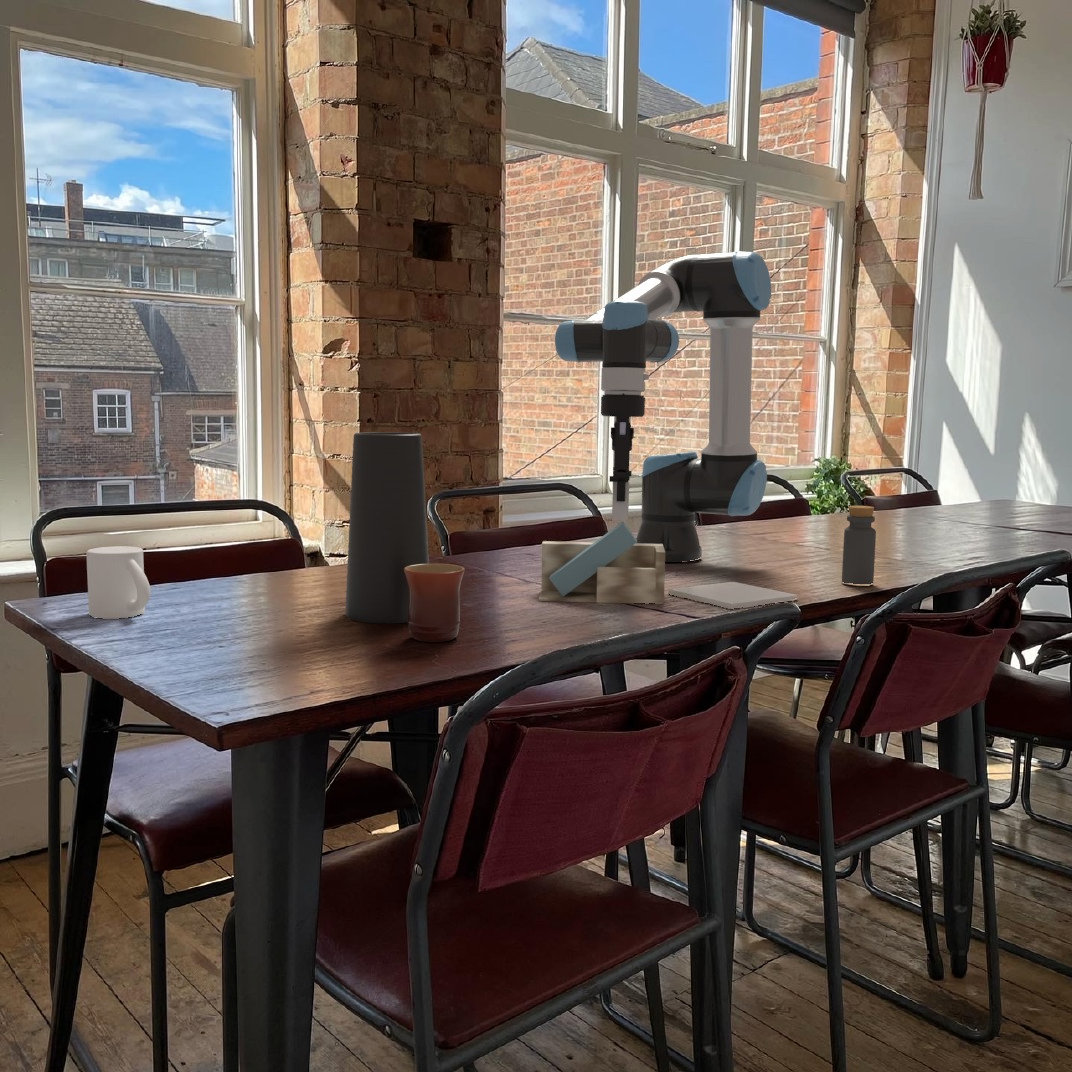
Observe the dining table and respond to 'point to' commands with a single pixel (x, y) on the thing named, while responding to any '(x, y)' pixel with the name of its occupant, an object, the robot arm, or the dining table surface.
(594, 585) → the block
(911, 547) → the dining table surface
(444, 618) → the mug
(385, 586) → the vase
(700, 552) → the robot arm
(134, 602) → the mug
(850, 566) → the bottle
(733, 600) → the tile
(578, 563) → the bar
